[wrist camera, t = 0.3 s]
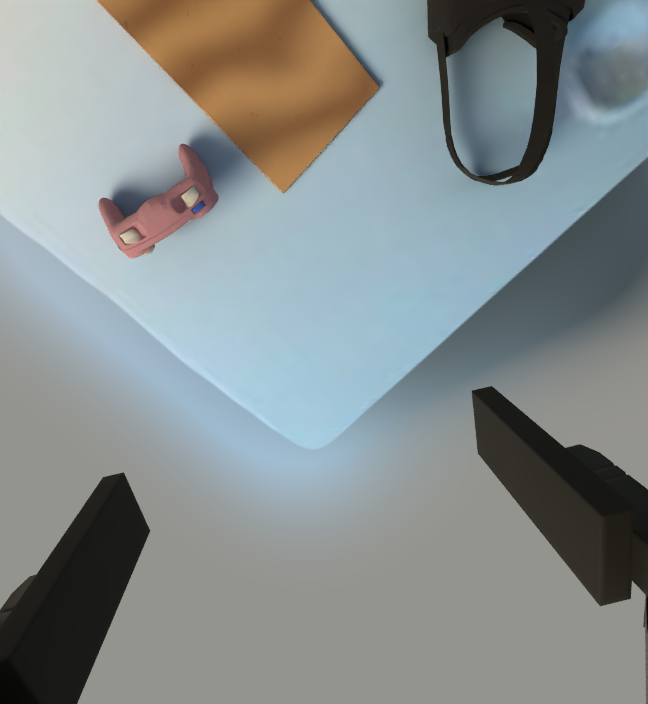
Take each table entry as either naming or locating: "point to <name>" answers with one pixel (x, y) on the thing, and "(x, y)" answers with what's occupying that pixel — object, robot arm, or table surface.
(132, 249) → the video game controller
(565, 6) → the virtual reality headset
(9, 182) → the table surface
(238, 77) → the cork mat
